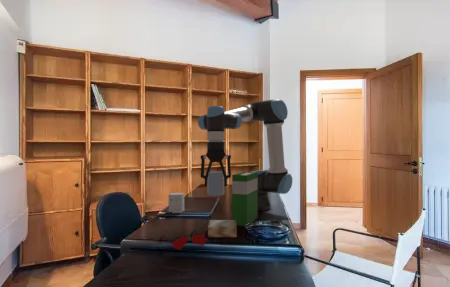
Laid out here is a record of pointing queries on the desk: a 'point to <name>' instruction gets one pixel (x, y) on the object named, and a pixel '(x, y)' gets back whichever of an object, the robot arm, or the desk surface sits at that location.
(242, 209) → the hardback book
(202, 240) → the glasses
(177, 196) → the small box
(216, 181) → the block
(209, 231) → the plinth
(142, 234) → the desk surface
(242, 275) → the desk surface
